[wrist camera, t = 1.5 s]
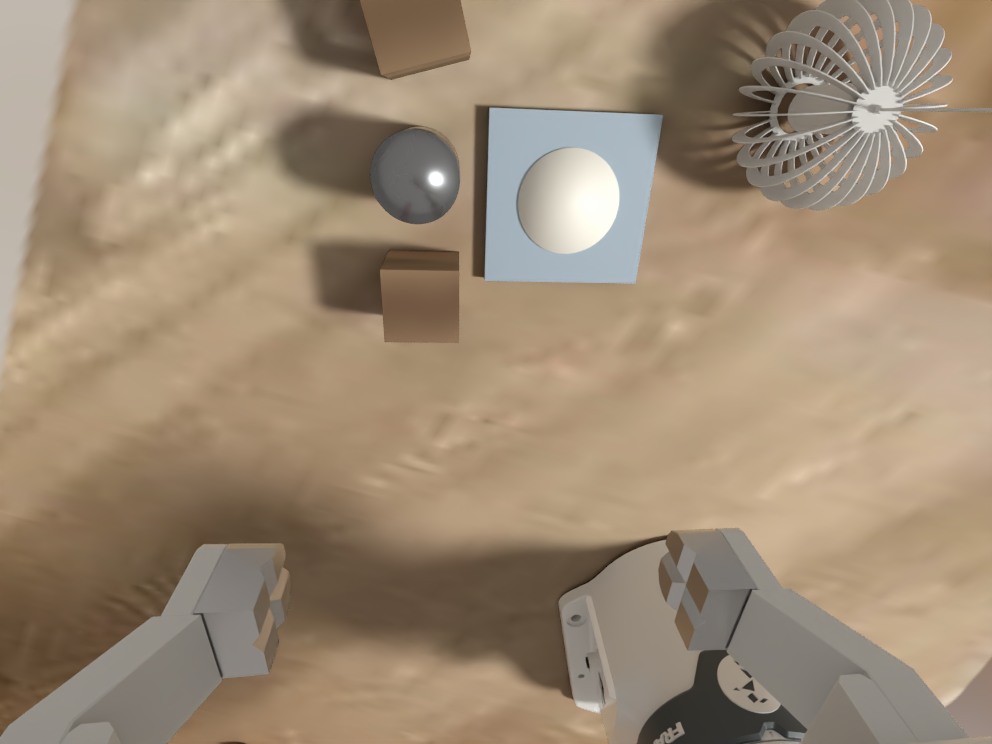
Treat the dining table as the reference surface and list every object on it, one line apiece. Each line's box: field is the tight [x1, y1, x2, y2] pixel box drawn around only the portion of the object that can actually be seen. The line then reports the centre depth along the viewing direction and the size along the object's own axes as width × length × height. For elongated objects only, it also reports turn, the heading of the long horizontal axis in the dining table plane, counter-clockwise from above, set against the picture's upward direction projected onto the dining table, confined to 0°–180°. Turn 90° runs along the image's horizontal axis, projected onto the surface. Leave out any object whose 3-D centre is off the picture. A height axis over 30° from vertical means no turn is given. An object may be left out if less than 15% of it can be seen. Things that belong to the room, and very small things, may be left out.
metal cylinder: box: [370, 126, 460, 224], centre depth 25 cm, size 4×4×5 cm
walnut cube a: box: [380, 251, 459, 343], centre depth 29 cm, size 4×4×4 cm
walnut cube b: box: [360, 0, 471, 80], centre depth 23 cm, size 4×4×4 cm
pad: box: [484, 108, 663, 283], centre depth 29 cm, size 9×9×1 cm
